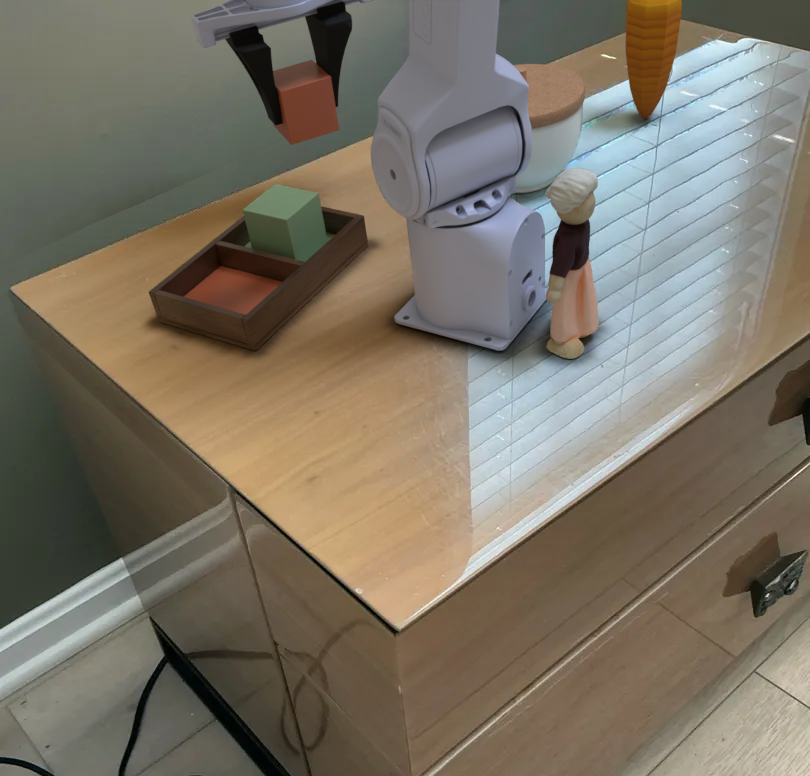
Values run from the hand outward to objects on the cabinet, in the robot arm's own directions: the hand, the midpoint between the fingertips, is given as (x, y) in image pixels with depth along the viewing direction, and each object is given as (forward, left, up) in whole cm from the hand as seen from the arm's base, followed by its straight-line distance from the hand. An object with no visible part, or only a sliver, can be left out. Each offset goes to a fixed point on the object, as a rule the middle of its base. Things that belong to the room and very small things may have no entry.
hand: (303, 112), depth 81 cm
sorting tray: (-4, +13, -8) cm, 16 cm away
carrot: (-22, -24, -8) cm, 33 cm away
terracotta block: (0, 0, -1) cm, 1 cm away
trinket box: (-16, -10, -8) cm, 20 cm away
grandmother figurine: (-30, +10, -8) cm, 32 cm away
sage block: (-4, +9, -7) cm, 12 cm away
